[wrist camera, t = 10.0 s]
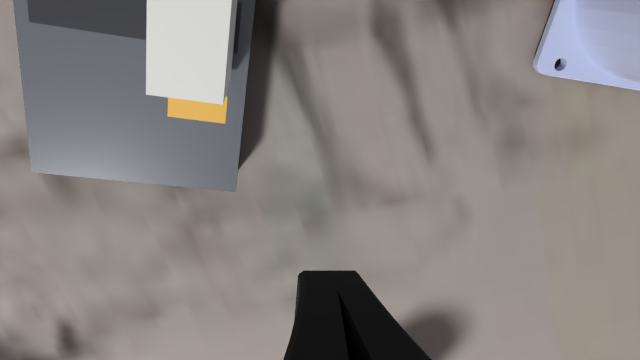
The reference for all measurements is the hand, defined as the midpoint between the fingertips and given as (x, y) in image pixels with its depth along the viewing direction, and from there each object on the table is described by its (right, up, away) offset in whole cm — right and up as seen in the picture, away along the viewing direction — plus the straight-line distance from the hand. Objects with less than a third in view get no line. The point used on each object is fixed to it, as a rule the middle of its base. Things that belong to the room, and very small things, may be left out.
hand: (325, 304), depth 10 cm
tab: (-4, +8, +4) cm, 9 cm away
